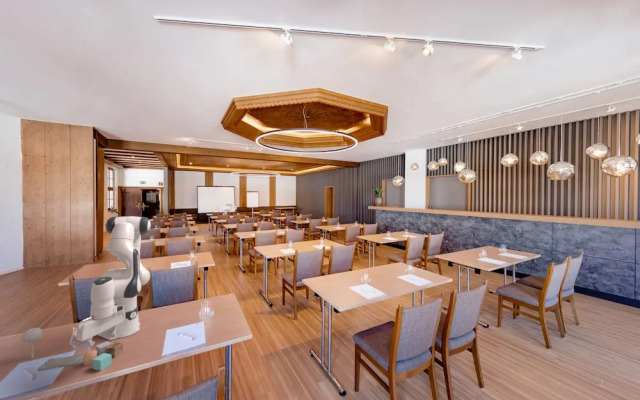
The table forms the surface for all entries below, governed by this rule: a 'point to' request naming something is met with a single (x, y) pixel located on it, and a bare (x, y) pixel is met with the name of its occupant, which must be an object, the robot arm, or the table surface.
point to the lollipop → (32, 337)
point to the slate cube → (102, 347)
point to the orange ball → (89, 357)
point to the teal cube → (102, 361)
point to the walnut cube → (114, 349)
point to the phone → (62, 362)
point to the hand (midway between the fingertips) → (102, 340)
